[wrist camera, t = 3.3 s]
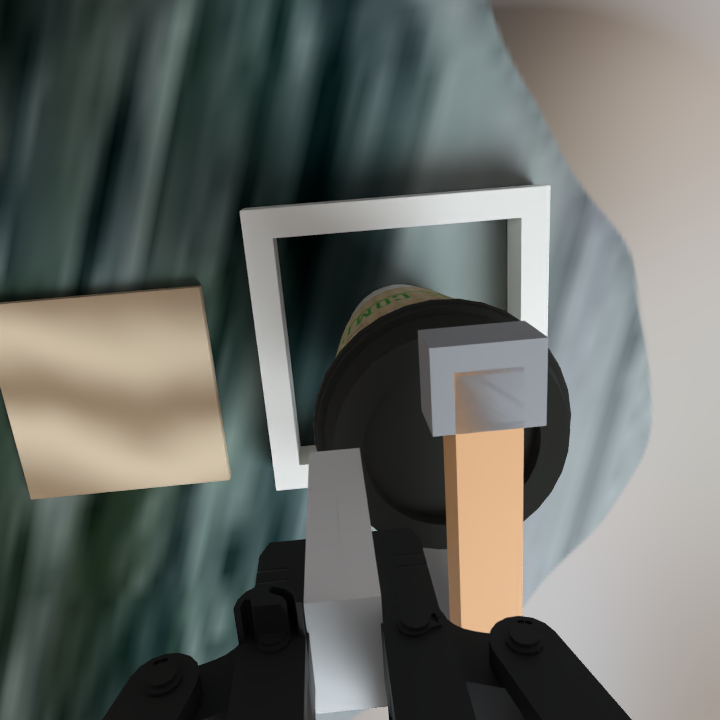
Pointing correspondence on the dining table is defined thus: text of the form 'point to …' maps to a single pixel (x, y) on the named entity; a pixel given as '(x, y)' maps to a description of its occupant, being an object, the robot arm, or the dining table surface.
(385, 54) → the dining table surface
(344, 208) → the white square frame
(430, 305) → the coffee cup
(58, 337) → the cork pad
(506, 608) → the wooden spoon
